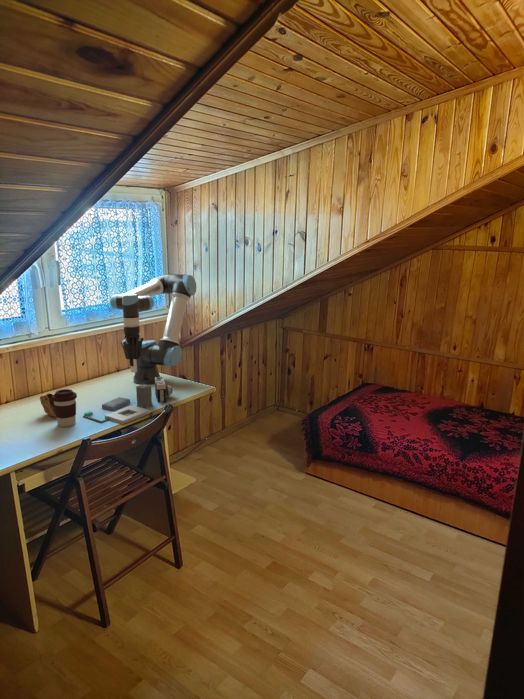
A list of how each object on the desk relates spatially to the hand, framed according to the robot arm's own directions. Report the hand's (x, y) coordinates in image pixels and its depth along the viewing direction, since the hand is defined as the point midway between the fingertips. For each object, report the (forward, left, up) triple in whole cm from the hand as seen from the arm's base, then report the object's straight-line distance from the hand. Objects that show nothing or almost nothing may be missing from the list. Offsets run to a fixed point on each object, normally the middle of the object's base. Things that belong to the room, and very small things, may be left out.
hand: (133, 371), depth 233 cm
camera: (-10, +11, -15) cm, 21 cm away
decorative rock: (+37, -13, -15) cm, 42 cm away
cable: (+28, +6, -14) cm, 32 cm away
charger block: (+4, +11, -14) cm, 19 cm away
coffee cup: (+40, +1, -15) cm, 43 cm away
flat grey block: (+12, 0, -15) cm, 19 cm away
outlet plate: (+18, +15, -14) cm, 28 cm away
